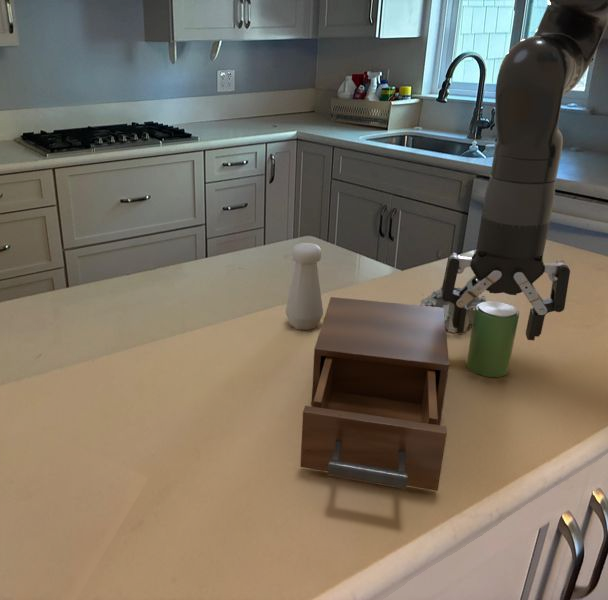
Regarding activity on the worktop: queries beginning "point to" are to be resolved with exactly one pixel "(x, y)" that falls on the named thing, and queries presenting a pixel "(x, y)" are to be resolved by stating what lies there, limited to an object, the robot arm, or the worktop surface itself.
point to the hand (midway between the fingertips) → (494, 333)
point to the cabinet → (384, 338)
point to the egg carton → (452, 308)
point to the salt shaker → (305, 288)
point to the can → (492, 338)
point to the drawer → (375, 424)
